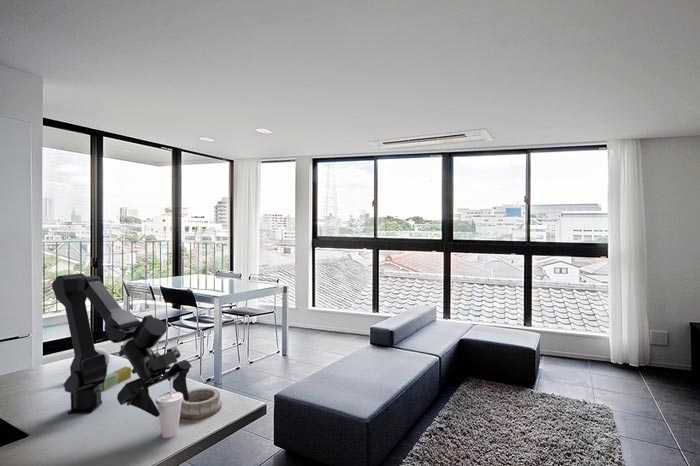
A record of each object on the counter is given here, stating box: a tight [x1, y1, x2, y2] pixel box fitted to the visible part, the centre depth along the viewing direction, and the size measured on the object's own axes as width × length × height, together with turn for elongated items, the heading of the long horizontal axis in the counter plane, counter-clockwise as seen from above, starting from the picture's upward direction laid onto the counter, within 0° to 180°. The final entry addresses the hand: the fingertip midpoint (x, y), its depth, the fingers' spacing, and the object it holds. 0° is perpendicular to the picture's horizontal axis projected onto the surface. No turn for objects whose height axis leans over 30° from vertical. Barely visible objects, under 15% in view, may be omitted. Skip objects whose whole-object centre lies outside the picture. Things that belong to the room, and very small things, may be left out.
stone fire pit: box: [180, 387, 222, 421], centre depth 115 cm, size 12×12×4 cm
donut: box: [95, 346, 111, 366], centre depth 139 cm, size 10×3×10 cm, turn 140°
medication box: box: [99, 366, 132, 393], centre depth 132 cm, size 12×3×4 cm, turn 167°
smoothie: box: [155, 379, 183, 439], centre depth 101 cm, size 6×6×14 cm
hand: (173, 407), depth 101 cm, fingers open, 9 cm apart
